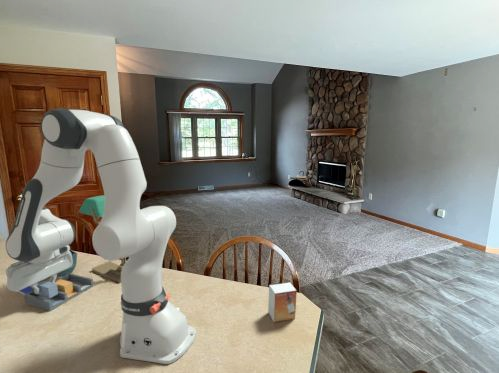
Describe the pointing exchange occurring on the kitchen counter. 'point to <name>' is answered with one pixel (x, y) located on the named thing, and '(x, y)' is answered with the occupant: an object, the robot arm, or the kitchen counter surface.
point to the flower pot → (69, 270)
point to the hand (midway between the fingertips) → (44, 289)
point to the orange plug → (64, 286)
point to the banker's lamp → (96, 209)
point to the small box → (282, 302)
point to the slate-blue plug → (47, 289)
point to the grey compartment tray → (60, 293)
